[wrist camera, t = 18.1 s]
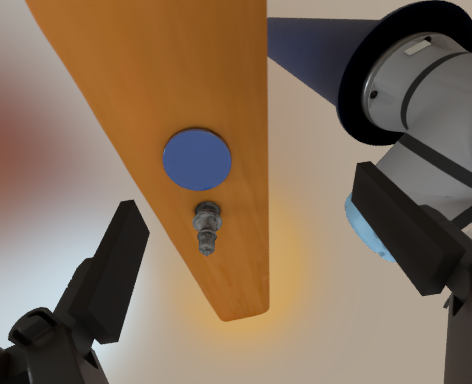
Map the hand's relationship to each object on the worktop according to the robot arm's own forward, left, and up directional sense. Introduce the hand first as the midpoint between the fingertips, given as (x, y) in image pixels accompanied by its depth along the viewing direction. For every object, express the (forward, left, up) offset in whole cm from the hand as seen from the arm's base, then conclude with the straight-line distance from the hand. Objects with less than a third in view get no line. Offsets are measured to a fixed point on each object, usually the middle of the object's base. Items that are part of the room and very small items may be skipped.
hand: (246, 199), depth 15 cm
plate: (-3, +13, -29) cm, 32 cm away
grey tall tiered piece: (-11, +22, -29) cm, 38 cm away
